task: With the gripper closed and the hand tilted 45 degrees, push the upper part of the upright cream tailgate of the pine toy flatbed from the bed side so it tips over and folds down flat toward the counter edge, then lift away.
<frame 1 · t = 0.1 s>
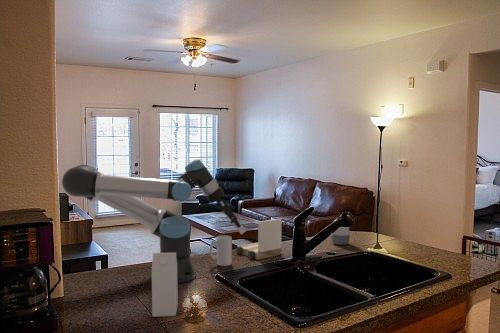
hand: (240, 229, 180), 15 cm above the countertop, tool tilted 35°, fingers open, 13 cm apart
milk carton: (165, 312, 129), on the countertop
flatbed: (270, 257, 191), on the countertop
tailgate: (270, 235, 190), point 10 cm above the countertop, hinge at 0.0°
smart speaker: (340, 244, 216), on the countertop
mug: (220, 264, 180), on the countertop
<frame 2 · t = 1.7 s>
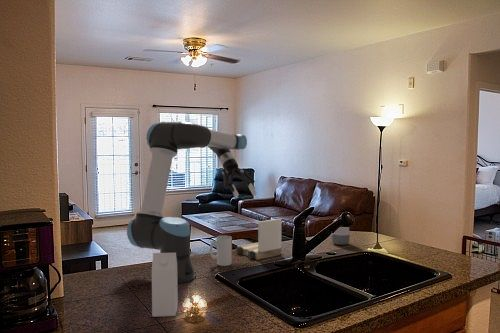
hand: (246, 195, 204), 27 cm above the countertop, tool tilted 45°, fingers open, 10 cm apart
nothing on the countertop moved.
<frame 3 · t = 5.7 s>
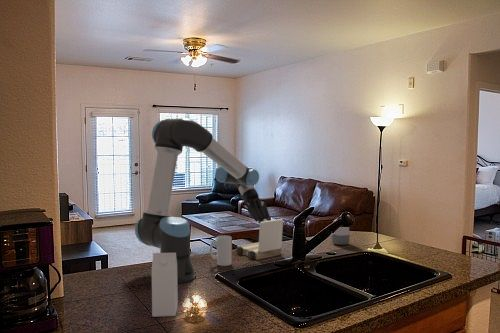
hand: (269, 231, 191), 12 cm above the countertop, tool tilted 45°, fingers closed
tailgate: (270, 235, 190), point 10 cm above the countertop, hinge at 4.8°, touching gripper
everything else where it was.
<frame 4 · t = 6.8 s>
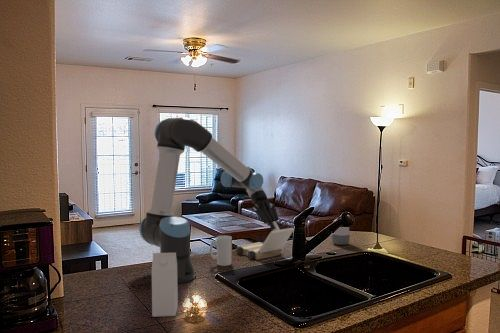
hand: (279, 234, 187), 12 cm above the countertop, tool tilted 45°, fingers closed
tailgate: (276, 240, 187), point 9 cm above the countertop, hinge at 39.7°, touching gripper
everything else where it was.
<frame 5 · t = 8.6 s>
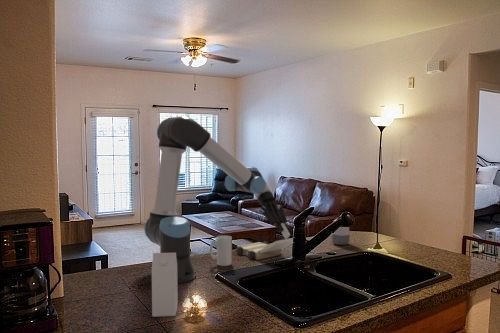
hand: (287, 236, 180), 12 cm above the countertop, tool tilted 45°, fingers closed
tailgate: (278, 245, 186), point 7 cm above the countertop, hinge at 60.3°
everything else where it was.
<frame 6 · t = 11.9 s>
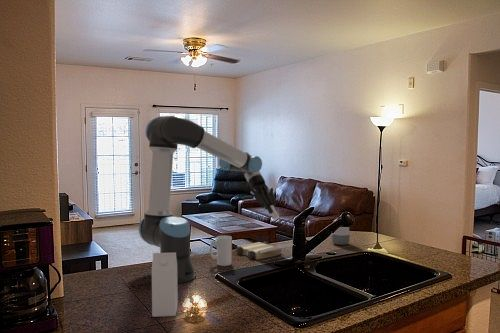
hand: (276, 218, 186), 19 cm above the countertop, tool tilted 45°, fingers closed
tailgate: (278, 247, 185), point 6 cm above the countertop, hinge at 68.7°
everything else where it was.
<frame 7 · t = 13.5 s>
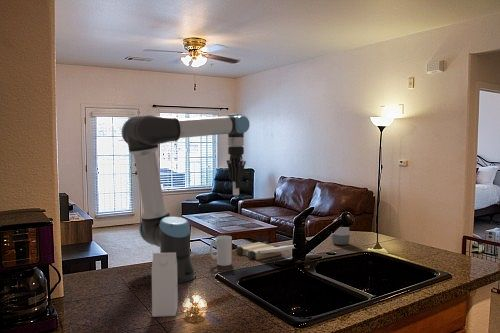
hand: (236, 194, 198), 28 cm above the countertop, tool pointing down, fingers closed
tailgate: (279, 248, 185), point 5 cm above the countertop, hinge at 74.2°
everything else where it was.
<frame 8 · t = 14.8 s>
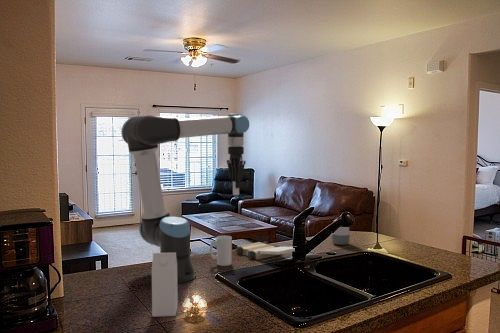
hand: (235, 194, 198), 28 cm above the countertop, tool pointing down, fingers closed
tailgate: (279, 250, 185), point 5 cm above the countertop, hinge at 79.3°
everything else where it was.
at the end: tailgate at +80° (first picture: +0°); tailgate touching nothing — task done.
